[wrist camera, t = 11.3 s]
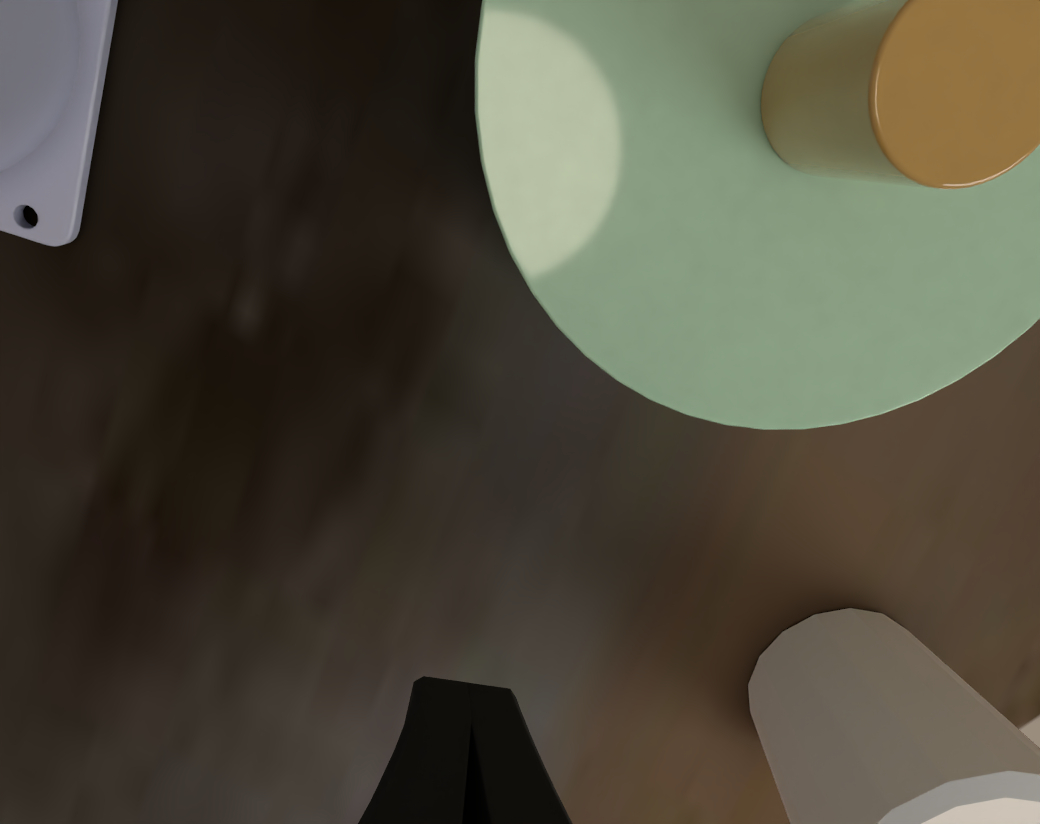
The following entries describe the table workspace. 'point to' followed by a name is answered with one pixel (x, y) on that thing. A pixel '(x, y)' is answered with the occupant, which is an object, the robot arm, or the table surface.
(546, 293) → the lid
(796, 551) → the table surface
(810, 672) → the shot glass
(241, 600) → the table surface
